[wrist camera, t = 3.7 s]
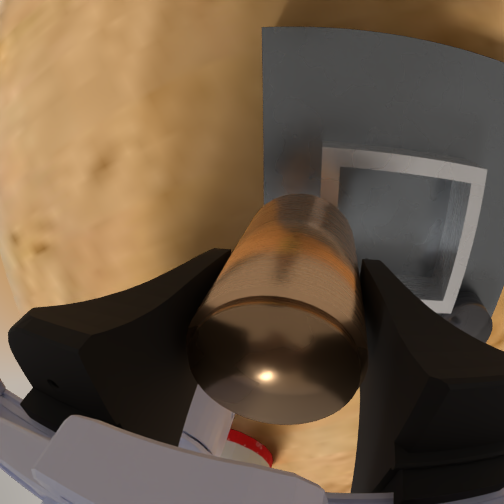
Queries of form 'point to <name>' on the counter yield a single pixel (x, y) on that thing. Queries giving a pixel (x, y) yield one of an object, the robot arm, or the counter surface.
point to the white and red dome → (246, 449)
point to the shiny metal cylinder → (284, 317)
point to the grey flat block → (395, 155)
